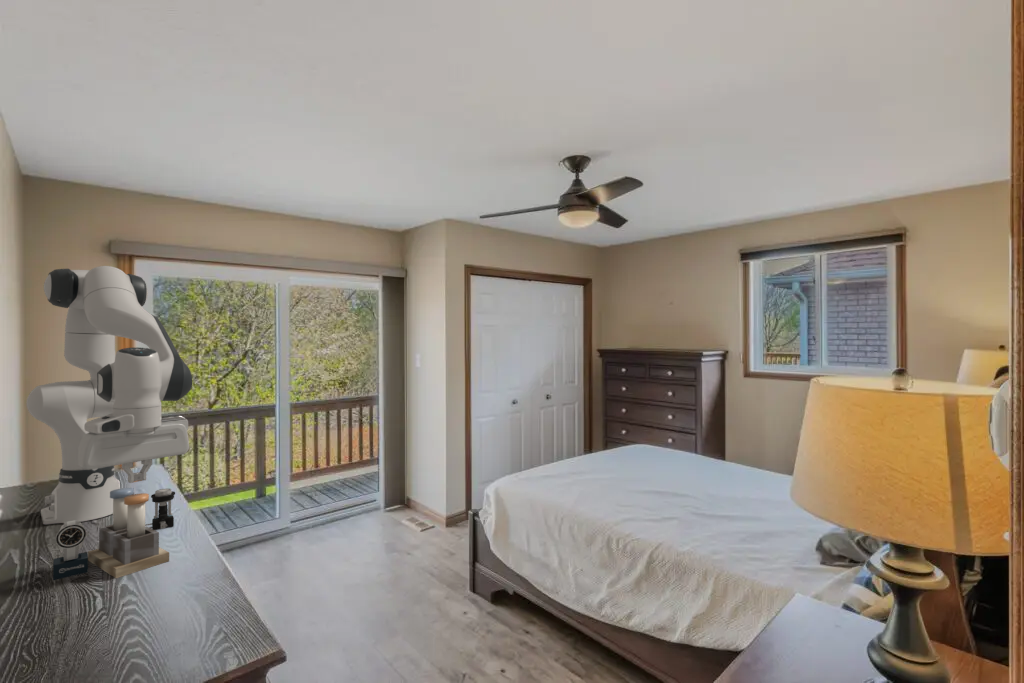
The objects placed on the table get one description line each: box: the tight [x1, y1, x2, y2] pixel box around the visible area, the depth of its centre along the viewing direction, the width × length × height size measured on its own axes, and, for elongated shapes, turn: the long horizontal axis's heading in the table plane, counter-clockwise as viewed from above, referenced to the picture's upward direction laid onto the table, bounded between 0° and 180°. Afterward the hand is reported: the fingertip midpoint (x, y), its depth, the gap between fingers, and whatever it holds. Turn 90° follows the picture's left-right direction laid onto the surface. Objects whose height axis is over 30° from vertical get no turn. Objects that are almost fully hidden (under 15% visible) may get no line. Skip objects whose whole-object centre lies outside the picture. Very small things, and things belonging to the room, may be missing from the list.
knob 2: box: [124, 492, 150, 539], centre depth 110 cm, size 4×4×9 cm
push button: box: [145, 488, 176, 531], centre depth 133 cm, size 7×5×10 cm
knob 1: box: [110, 487, 135, 531], centre depth 115 cm, size 4×4×9 cm
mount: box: [87, 524, 170, 579], centre depth 112 cm, size 16×10×7 cm, turn 57°
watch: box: [52, 520, 90, 581], centre depth 106 cm, size 6×8×11 cm
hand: (137, 481), depth 110 cm, fingers closed
